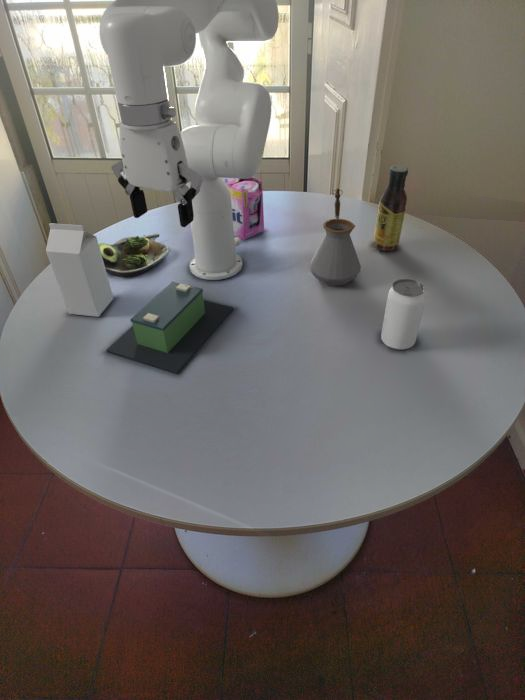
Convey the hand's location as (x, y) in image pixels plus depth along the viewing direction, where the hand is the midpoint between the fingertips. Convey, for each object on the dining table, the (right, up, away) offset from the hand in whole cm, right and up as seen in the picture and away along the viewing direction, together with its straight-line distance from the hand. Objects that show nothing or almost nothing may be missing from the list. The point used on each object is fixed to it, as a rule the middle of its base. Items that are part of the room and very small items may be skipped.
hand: (163, 219), depth 82 cm
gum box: (+7, +12, +49) cm, 51 cm away
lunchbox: (-4, -20, +5) cm, 21 cm away
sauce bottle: (+48, +3, +36) cm, 61 cm away
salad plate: (-16, -1, +35) cm, 38 cm away
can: (+43, -21, +8) cm, 49 cm away
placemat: (-1, -19, +12) cm, 23 cm away
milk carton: (-20, -14, +20) cm, 31 cm away
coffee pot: (+34, -3, +30) cm, 46 cm away
